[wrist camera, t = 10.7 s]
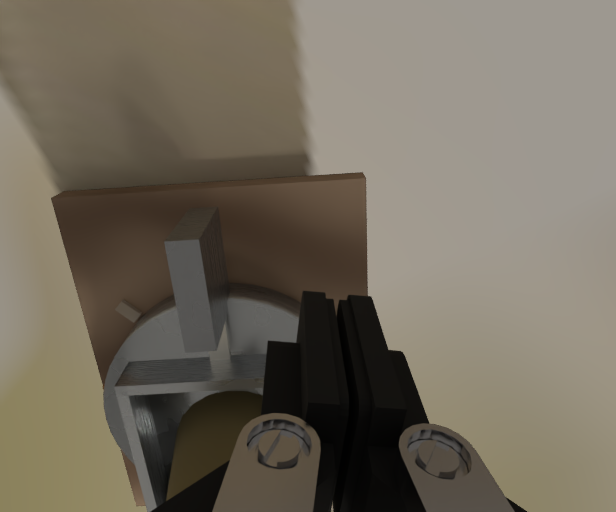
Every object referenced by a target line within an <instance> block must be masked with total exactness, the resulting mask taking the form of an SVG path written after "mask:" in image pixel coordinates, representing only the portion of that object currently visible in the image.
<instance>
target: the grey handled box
mask: <svg viewBox="0 0 616 512" xmlns="http://www.w3.org/2000/svg"><path fill="white" fill-rule="evenodd" d="M164 244H165V249H166V255H167V260H168V265H169V271H170V276H171V281H172V286H173V292H174V294H173V295H172V296H170V297H168V298H166V299H164V300H163V301H161V302H159V303H158V304H157V305H155V306H154V307H153V308H151V309H150V310H149V311H148V312H147V313H146V314H145V315H144V316H143V317H142V318H141V319H140V320H139V321H138V322H137V323H136V325H135V326H134V327H133V329H132V330H131V332H130V333H129V335H128V336H127V338H126V339H125V341H124V343H123V344H122V346H121V347H120V349H119V350H118V352H117V354H116V355H115V357H114V359H113V361H112V363H111V365H110V367H109V370H108V373H107V376H106V380H105V386H104V394H103V395H104V409H105V415H106V420H107V422H108V425H109V428H110V431H111V433H112V435H113V437H114V439H115V441H116V442H117V444H118V446H119V447H120V448H121V450H122V451H123V452H124V454H125V455H126V456H127V457H128V458H129V460H130V461H131V462H132V463H133V464H134V465H135V467H136V471H137V474H138V478H139V482H140V486H141V489H142V493H143V497H144V501H145V504H146V508H147V512H150V511H152V510H154V509H155V508H157V507H158V506H160V505H161V504H163V503H164V502H166V498H167V492H168V485H169V479H170V473H171V466H172V460H173V453H174V447H175V441H176V434H177V430H178V427H179V424H180V421H181V418H182V416H183V415H184V414H185V413H186V411H187V410H188V409H189V408H190V407H191V406H192V404H194V403H196V402H197V401H199V400H201V399H203V398H204V397H206V396H208V395H211V394H216V393H220V392H224V391H248V392H252V393H255V394H259V395H262V396H263V386H264V375H265V364H266V354H267V343H268V340H269V341H281V342H294V343H296V339H297V331H298V323H299V315H300V307H301V302H299V301H297V300H295V299H293V298H292V297H290V296H288V295H286V294H283V293H280V292H278V291H275V290H272V289H270V288H265V287H261V286H257V285H252V284H243V283H229V281H228V274H227V267H226V260H225V252H224V245H223V238H222V231H221V224H220V216H219V209H218V207H203V208H190V209H189V210H188V211H187V213H186V214H185V215H184V216H183V218H182V219H181V220H180V222H179V223H178V224H177V225H176V227H175V228H174V229H173V231H172V232H171V233H170V235H169V236H168V237H167V238H166V240H165V241H164Z"/></svg>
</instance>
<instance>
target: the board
mask: <svg viewBox="0 0 616 512" xmlns="http://www.w3.org/2000/svg"><path fill="white" fill-rule="evenodd" d="M51 200H52V203H53V207H54V210H55V214H56V218H57V221H58V225H59V228H60V232H61V236H62V239H63V243H64V246H65V250H66V253H67V257H68V260H69V265H70V268H71V272H72V275H73V279H74V283H75V286H76V290H77V293H78V297H79V300H80V304H81V308H82V311H83V315H84V318H85V322H86V326H87V329H88V333H89V336H90V340H91V344H92V347H93V351H94V355H95V358H96V362H97V365H98V369H99V372H100V376H101V380H102V383H103V389H104V386H105V380H106V376H107V373H108V370H109V367H110V365H111V363H112V361H113V359H114V357H115V355H116V354H117V352H118V350H119V349H120V347H121V346H122V344H123V343H124V341H125V339H126V338H127V336H128V335H129V333H130V332H131V330H132V329H133V327H134V326H135V325H136V323H137V322H138V321H139V320H140V319H141V318H142V317H143V316H144V315H145V314H146V313H147V312H148V311H149V310H150V309H151V308H153V307H154V306H155V305H157V304H158V303H159V302H161V301H163V300H164V299H166V298H168V297H170V296H172V295H173V294H174V292H173V286H172V281H171V276H170V271H169V265H168V260H167V255H166V249H165V244H164V241H165V240H166V238H167V237H168V236H169V235H170V233H171V232H172V231H173V229H174V228H175V227H176V225H177V224H178V223H179V222H180V220H181V219H182V218H183V216H184V215H185V214H186V213H187V211H188V210H189V209H190V208H203V207H218V209H219V216H220V224H221V231H222V238H223V245H224V252H225V260H226V267H227V274H228V281H229V283H243V284H252V285H257V286H261V287H265V288H270V289H272V290H275V291H278V292H280V293H283V294H286V295H288V296H290V297H292V298H293V299H295V300H297V301H299V302H301V299H302V292H303V291H314V292H325V294H326V298H327V299H333V300H334V305H335V311H336V315H337V309H338V303H339V300H347V297H348V295H359V296H368V291H367V290H368V289H367V288H368V287H367V225H366V224H367V219H366V178H365V176H364V174H363V173H345V174H330V175H314V176H298V177H282V178H267V179H251V180H235V181H220V182H204V183H188V184H173V185H157V186H141V187H125V188H110V189H94V190H78V191H64V192H62V193H60V194H58V195H56V196H54V197H52V198H51ZM121 451H122V450H121ZM122 455H123V459H124V462H125V466H126V470H127V473H128V477H129V480H130V484H131V488H132V491H133V495H134V499H135V502H136V506H146V504H145V501H144V497H143V493H142V489H141V486H140V482H139V478H138V474H137V471H136V467H135V465H134V464H133V463H132V462H131V461H130V460H129V458H128V457H127V456H126V455H125V454H124V452H123V451H122Z"/></svg>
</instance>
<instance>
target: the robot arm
mask: <svg viewBox="0 0 616 512" xmlns="http://www.w3.org/2000/svg"><path fill="white" fill-rule="evenodd" d="M332 502H333V510H334V512H527V511H525V510H524V509H523V508H521V507H520V506H518V505H517V504H515V503H514V502H512V501H511V500H509V499H508V498H506V497H505V496H504V494H503V493H502V491H501V489H500V488H499V486H498V485H497V483H496V482H495V480H494V478H493V477H492V475H491V474H490V472H489V471H488V469H487V467H486V466H485V464H484V463H483V461H482V459H481V458H480V456H479V455H478V453H477V452H476V450H475V449H474V448H473V447H472V445H471V444H470V443H469V442H468V441H467V440H466V439H464V438H463V437H462V436H461V435H459V434H458V433H456V432H454V431H452V430H450V429H448V428H446V427H442V426H439V425H435V424H429V421H428V419H427V416H426V413H425V410H424V408H423V405H422V402H421V399H420V396H419V394H418V391H417V388H416V385H415V383H414V380H413V377H412V375H411V372H410V369H409V366H408V363H407V361H406V358H405V356H404V354H403V352H401V351H393V350H388V347H387V344H386V341H385V338H384V335H383V332H382V329H381V326H380V322H379V319H378V316H377V313H376V309H375V306H374V303H373V300H372V298H371V297H370V296H359V295H348V297H347V300H339V303H338V309H337V315H336V311H335V305H334V300H333V299H327V298H326V294H325V292H314V291H303V292H302V299H301V307H300V315H299V323H298V331H297V339H296V343H294V342H281V341H269V340H268V343H267V354H266V364H265V375H264V386H263V396H262V407H261V416H259V417H257V418H255V419H252V420H251V421H250V422H249V423H248V424H246V425H245V426H244V427H243V429H242V431H241V432H240V434H239V436H238V439H237V442H236V445H235V448H234V451H233V454H232V456H231V459H230V460H229V461H227V462H226V463H224V464H223V465H221V466H220V467H218V468H216V469H215V470H213V471H212V472H210V473H209V474H207V475H206V476H204V477H203V478H201V479H200V480H198V481H197V482H195V483H193V484H192V485H190V486H189V487H187V488H186V489H184V490H183V491H181V492H180V493H178V494H177V495H175V496H173V497H172V498H170V499H169V500H167V501H166V502H164V503H163V504H161V505H160V506H158V507H157V508H155V509H154V510H152V511H150V512H331V507H332Z"/></svg>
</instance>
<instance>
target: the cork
mask: <svg viewBox="0 0 616 512" xmlns="http://www.w3.org/2000/svg"><path fill="white" fill-rule="evenodd" d="M261 407H262V395H259V394H255V393H252V392H248V391H224V392H220V393H216V394H211V395H208V396H206V397H204V398H203V399H201V400H199V401H197V402H196V403H194V404H192V406H191V407H190V408H189V409H188V410H187V411H186V413H185V414H184V415H183V416H182V418H181V421H180V424H179V427H178V430H177V434H176V441H175V447H174V453H173V460H172V466H171V473H170V479H169V485H168V492H167V498H166V501H167V500H169V499H170V498H172V497H173V496H175V495H177V494H178V493H180V492H181V491H183V490H184V489H186V488H187V487H189V486H190V485H192V484H193V483H195V482H197V481H198V480H200V479H201V478H203V477H204V476H206V475H207V474H209V473H210V472H212V471H213V470H215V469H216V468H218V467H220V466H221V465H223V464H224V463H226V462H227V461H229V460H230V459H231V456H232V454H233V451H234V448H235V445H236V442H237V439H238V436H239V434H240V432H241V431H242V429H243V427H244V426H245V425H246V424H248V423H249V422H250V421H251V420H252V419H255V418H257V417H259V416H261Z"/></svg>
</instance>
